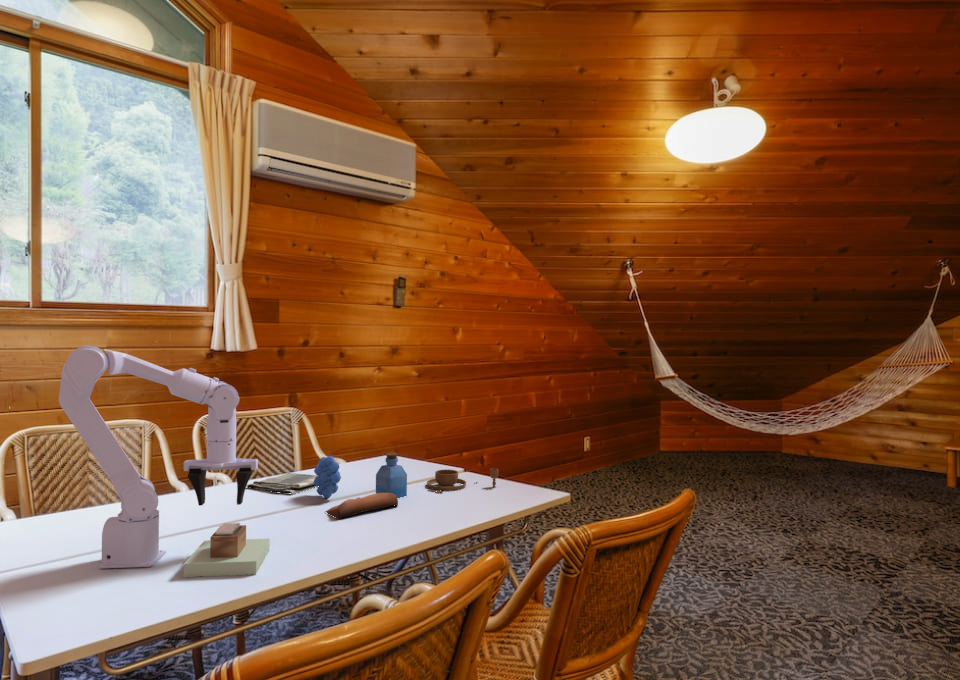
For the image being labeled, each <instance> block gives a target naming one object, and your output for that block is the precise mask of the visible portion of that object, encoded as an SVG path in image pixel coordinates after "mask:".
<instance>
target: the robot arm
mask: <svg viewBox="0 0 960 680" xmlns="http://www.w3.org/2000/svg"><path fill="white" fill-rule="evenodd" d="M61 369H62V370H61V377H60V378H61V379H60V388H59V392H58V403H59V406H60V407H61V409H62V410H63V411H64V413H65V415H66V416H67V417H68V419H69V421H70V422H71V423H72V425H73V426H74V428H75V429H76V431H77V433H78V434H79V436H80V437H81V439H82V441H83V442H84V443H85V445H86V446H87V447H88V449H89V450H90V452H91V453H92V455H93V456H94V458H95V460H96V461H97V462H98V464H99V465H100V466H101V469H102V470H103V471H104V473H105V474H106V476H107V477H108V479H109V480H110V481H111V484H112V486H113V488H114V490H115V492H116V494H117V495H118V497H119V499H120V507H121V511H120V512H119V513H118V514H117V516H112V517H108V518H107V519H106V521H105V522H104V524H103V527H102V531H101V532H102V533H101V564H100V565H99V568H100V569H119V568H121V569H122V568H145V567H146V568H149V567H153V566H154V565H155V564H156V563H157V562H159V560H160V559H161V558H162V557H163V556H164V555H166V553H167V550H165V549H164V550H163V549H162V550H160V549H159V546H160V545H159V542H160V541H159V540H160V539H159V538H160V530H159V529H160V510H159V509H158V506H159V497H158V495H157V493H156V487H155V486H154V485H155V484H154V483H153V482H152V481H151V480H149V479H147V478H146V477H144V476H142V475H141V473H140V472H139V470H138V468H136V467H135V466H134V464H133V463H132V460H130V458H129V455H127V453H126V452H125V451H124V449H123V447H122V446H121V444H120V443H119V441H118V439H117V438H116V437H115V435H114V433H113V432H112V431H111V429H110V427H109V426H108V424H107V423H106V421H105V420H104V418H103V417H102V415H101V414H100V411H98V409H97V407H96V406H95V405H94V403H93V402H92V400H91V396H92V393H93V390H94V388H95V384H96V383H97V382H98V380H99V379H100V378H101V377H102V376H103V375H104V373H105V372H106V371H107V370H108V375H109V376H113V375H118V374H129V375H132V376H135V377H138V378H141V379H145V380H148V381H151V382H153V383H154V382H155V383H158V384H161V385H164V386H167V388H168V390H169V393H170V394H171V395H172V396H176V397H179V398H182V399H185V400H188V401H190V402H193V403H196V404H198V405H199V404H200V405H207V406H208V408H207V409H208V410H207V412H208V413H207V414H208V415H207V419H206V458H202V459H186V460H185V461H183V472H188V474H187V478H188V480H189V481H190V483H191V485H192V487H193V489H194V492H195V495H196V499H197V504H198V506H203V505H204V504H205V503H206V476H207V471H215V470H217V471H219V470H221V471H222V470H224V471H226V470H233V471H234V470H237V472H235V473H236V474H235V475H236V486H237V487H236V488H237V489H236V490H237V492H236V493H237V494H236V505H242V503H243V501H244V495H245V492H246V489H247V485H248V483H249V480H250V479H251V476H252V475H253V472H254V471H257V470H258V468H259V459H258V458H242V457H241V458H240V457H239V458H238V457H237V416H236V415H237V409H236V408H237V407H238V406H239V403H240V396H239V392H238V390H237V389H236V388H235V387H234V385H233V386H232V385H231V384H228V383H227V382H225V381H220V379H219V378H218V377H215V376H213V378H211V377H210V376H206V375H203V374H200V373H197V369H196V368H192V367H189V368H184V367H183V368H180V369H177V370H175V371H172V370H170V369H167V368H164V367H162V366H160V365H157V364H154V363H151V362H149V361H147V360H144V359H141V358H138V357H136V356H133V355H131V354H129V353H125V352H120V351H117V350H112V349H106V348H104V350H103V349H101V348H99V347H98V346H95V345H89V344H88V345H86V344H85V345H81V346H79V347H77V348H76V349H74V350H73V351H71V353H70V354H69V355H68V357H67V359H66V361H65V363H64V364H63V367H62V368H61Z"/></svg>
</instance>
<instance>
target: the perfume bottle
mask: <svg viewBox="0 0 960 680" xmlns="http://www.w3.org/2000/svg"><path fill="white" fill-rule="evenodd" d="M385 456H386V457H385V463H386V464H383V465H381V466H380V468H379V469H378V471H377V472H376V474H375V494H377V493H393V494H394V495H396V497H397V498H398V499H400V498H399V497H402V498H405V497H404V496H406V497H407V496H408V495H407V491H408V474H407V472H406V471H405V469H404V468H403V465H400V464H398V462H399V458H398V453H396V452H389V453H388V452H387V453H386V454H385Z"/></svg>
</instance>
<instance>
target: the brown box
mask: <svg viewBox="0 0 960 680" xmlns="http://www.w3.org/2000/svg"><path fill="white" fill-rule="evenodd" d="M221 526H222V525H220V526H219V527H218V528H217V529H216V530H215V532H216V531H217V530H218V529H219V528H220V527H221ZM215 532H214V533H212V535H211V536H210V558H227V557H238V556H239V554H240V553H241V551H242V550H243V548H244V547H245V545H246V539H247V524H244V525H243V524H242V525H241V524H240V530H239V531H238V533H237V534H236V535H235V536H215Z"/></svg>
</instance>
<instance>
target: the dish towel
mask: <svg viewBox="0 0 960 680" xmlns="http://www.w3.org/2000/svg"><path fill="white" fill-rule="evenodd" d="M317 476H318V475H316V474H305V473H296V472H295V473H294V472H293V473H292V472H287V473H285V474H282V475H278V476H274V477H268V478H267V479H263V480H259V481H258V480H256V481H253V482H252V483H250V484H247V486H246V489H253V490H257V491H261V490H262V492H271V491H272V492H271V493H273V492H276V493H275V494H278V493H277V492H280V493H282V494H284V493H291V495H290V496H294V495H297V494H296V493H298V494H300V492H301V493H304V492H307V491H310V490H312V488H313V489H315V487H316V488H318V486H316V485H315V484H314V479H315V478H316V477H317ZM309 489H310V490H309ZM306 490H307V491H306ZM303 491H304V492H303ZM293 494H294V495H293Z"/></svg>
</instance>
